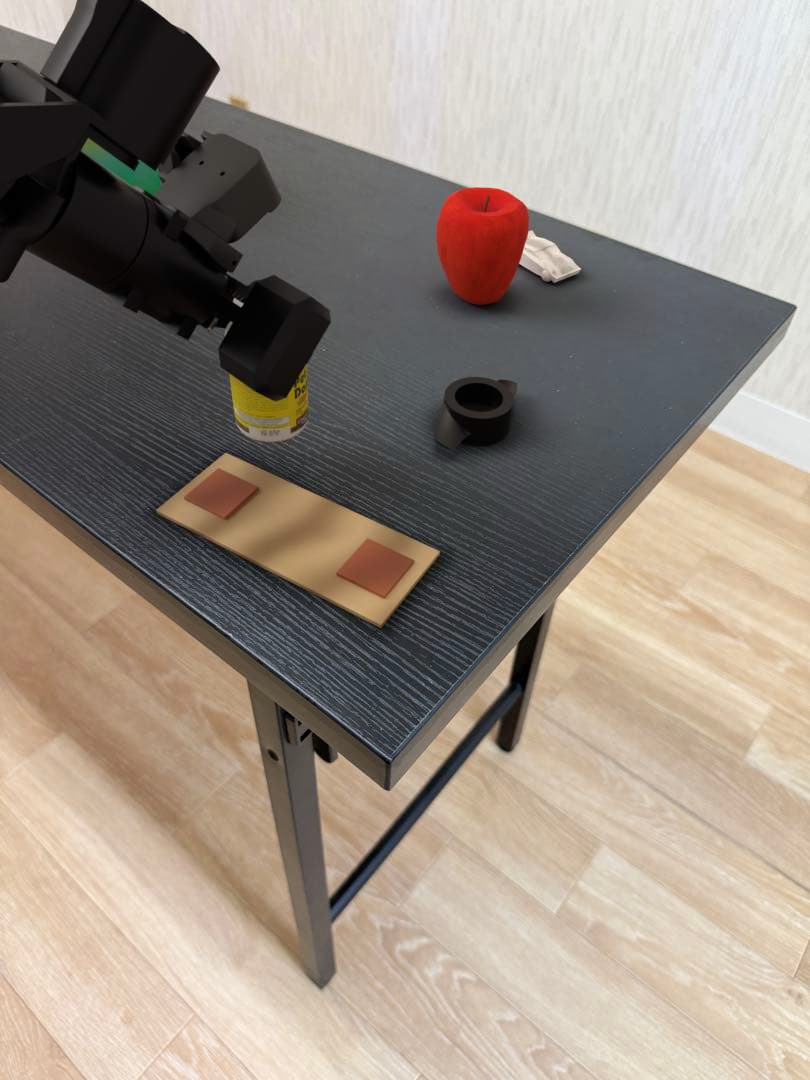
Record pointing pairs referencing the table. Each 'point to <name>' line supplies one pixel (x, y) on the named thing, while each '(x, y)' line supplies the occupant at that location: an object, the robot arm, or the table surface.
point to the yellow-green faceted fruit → (124, 168)
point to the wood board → (302, 537)
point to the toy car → (546, 259)
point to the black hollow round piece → (475, 412)
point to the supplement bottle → (270, 409)
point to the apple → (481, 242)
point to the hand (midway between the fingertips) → (281, 340)
